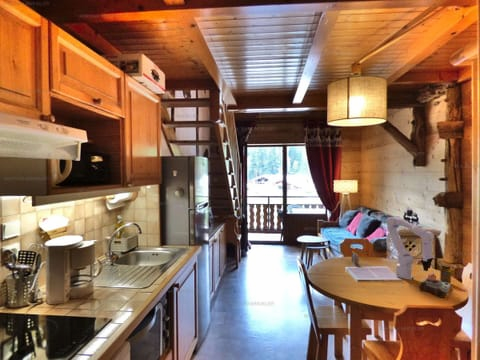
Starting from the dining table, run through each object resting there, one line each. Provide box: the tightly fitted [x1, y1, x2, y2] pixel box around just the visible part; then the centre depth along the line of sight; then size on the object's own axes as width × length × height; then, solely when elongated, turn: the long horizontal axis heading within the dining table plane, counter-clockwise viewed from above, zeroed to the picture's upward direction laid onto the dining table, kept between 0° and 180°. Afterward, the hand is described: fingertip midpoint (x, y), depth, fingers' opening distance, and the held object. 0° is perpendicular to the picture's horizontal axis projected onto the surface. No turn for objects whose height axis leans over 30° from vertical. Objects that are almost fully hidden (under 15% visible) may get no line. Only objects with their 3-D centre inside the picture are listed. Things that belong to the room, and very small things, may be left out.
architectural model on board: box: [351, 249, 359, 266], centre depth 254 cm, size 11×3×10 cm, turn 174°
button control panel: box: [422, 277, 451, 294], centre depth 201 cm, size 14×12×4 cm
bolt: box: [418, 281, 448, 298], centre depth 191 cm, size 6×5×15 cm
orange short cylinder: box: [427, 273, 437, 283], centre depth 202 cm, size 4×4×6 cm
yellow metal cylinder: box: [439, 264, 452, 285], centre depth 209 cm, size 7×8×12 cm
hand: (426, 269), depth 207 cm, fingers open, 7 cm apart
